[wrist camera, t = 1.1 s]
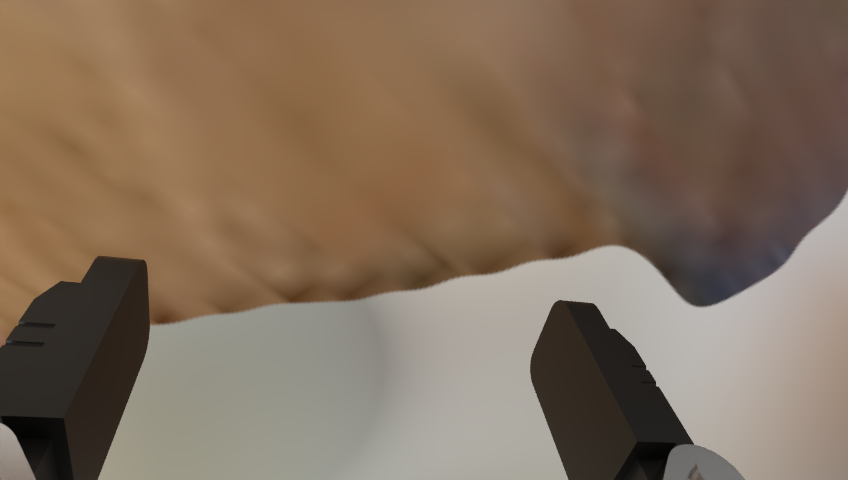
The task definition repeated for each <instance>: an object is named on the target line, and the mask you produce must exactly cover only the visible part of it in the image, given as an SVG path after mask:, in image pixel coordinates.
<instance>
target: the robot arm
mask: <svg viewBox="0 0 848 480" xmlns="http://www.w3.org/2000/svg"><path fill="white" fill-rule="evenodd" d="M149 331H150V319H149V296H148V274H147V265H146V262H145V261H144V260H139V259H128V258H118V257H107V256H98V257H97V258H96V259H95V260H94V262H93V263H92V265H91V267H90V268H89V270H88V272H87V273H86V275H85V277H84V278H83V280H82V282H81V283H75V282H63V281H60V282H59V283H57V284H56V285H54V286H53V287H51V288H50V289H49V290H47V291H46V292H44V293H43V294H41V295H40V296H38V297H37V298H35V299H34V300H33V302H32V303H31V304H30V306H29V307H28V309H27V310H26V312H25V313H24V315H23V316H22V318H21V319H20V321H19V325H18V326H15V328H14V329H13V331H12V332H11V334H10V335H9V337H8V338H7V339H6V344H5V345H2V347H1V348H0V480H98V477H99V475H100V472H101V469H102V466H103V464H104V461H105V459H106V456H107V454H108V451H109V449H110V446H111V443H112V441H113V438H114V436H115V433H116V430H117V428H118V425H119V422H120V420H121V417H122V415H123V412H124V410H125V407H126V404H127V402H128V399H129V396H130V394H131V391H132V388H133V386H134V384H135V381H136V378H137V376H138V373H139V370H140V368H141V365H142V363H143V360H144V357H145V353H146V350H147V345H148V340H149ZM530 366H531V367H530V372H531V380H532V383H533V386H534V389H535V391H536V394H537V397H538V399H539V402H540V404H541V407H542V410H543V413H544V415H545V418H546V421H547V423H548V426H549V429H550V431H551V434H552V437H553V439H554V442H555V444H556V447H557V450H558V453H559V455H560V458H561V461H562V463H563V466H564V468H565V471H566V474H567V477H568V479H569V480H745V479H744V478H743V477H742V475H741V474H740V473H739V472H738V471H737V469H736V468H735V467H734V466H733V465H731V464H730V463H729V462H728V461H727V460H725V459H724V458H722V457H721V456H720V455H718V454H716V453H715V452H713V451H711V450H708V449H706V448H704V447H701V446H696V445H694V443H693V442H692V440H691V439H690V437H689V436H688V434H687V432H686V430H685V429H684V427H683V425H682V424H681V422H680V421H679V419H678V417H677V416H676V414H675V412H674V411H673V409H672V407H671V406H670V404H669V403H668V401H667V399H666V398H665V396H664V394H663V393H662V391H661V390H660V388H659V387H656V381H655V380H654V378H653V377H652V375H651V374H650V372H649V371H648V370H646V365H645V363H644V362H643V360H642V359H641V357H640V355H639V354H638V352H637V351H636V349H635V347H634V346H633V345H632V344H631V343H630V342H628V341H627V340H626V339H625V338H624V337H623V336H622V335H621V334H620V333H619V332H618V331H617V330H615V329H610V328H609V326H608V325H607V323H606V321H605V319H604V318H603V316H602V314H601V313H600V311H599V309H598V308H597V306H595V305H594V304H593V303H584V302H573V301H562V300H559V301H557V302H555V303H554V305H553V306H552V308H551V310H550V313H549V315H548V318H547V320H546V322H545V325H544V327H543V330H542V332H541V334H540V337H539V339H538V342H537V344H536V346H535V349H534V351H533V354H532V358H531V365H530Z"/></svg>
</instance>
